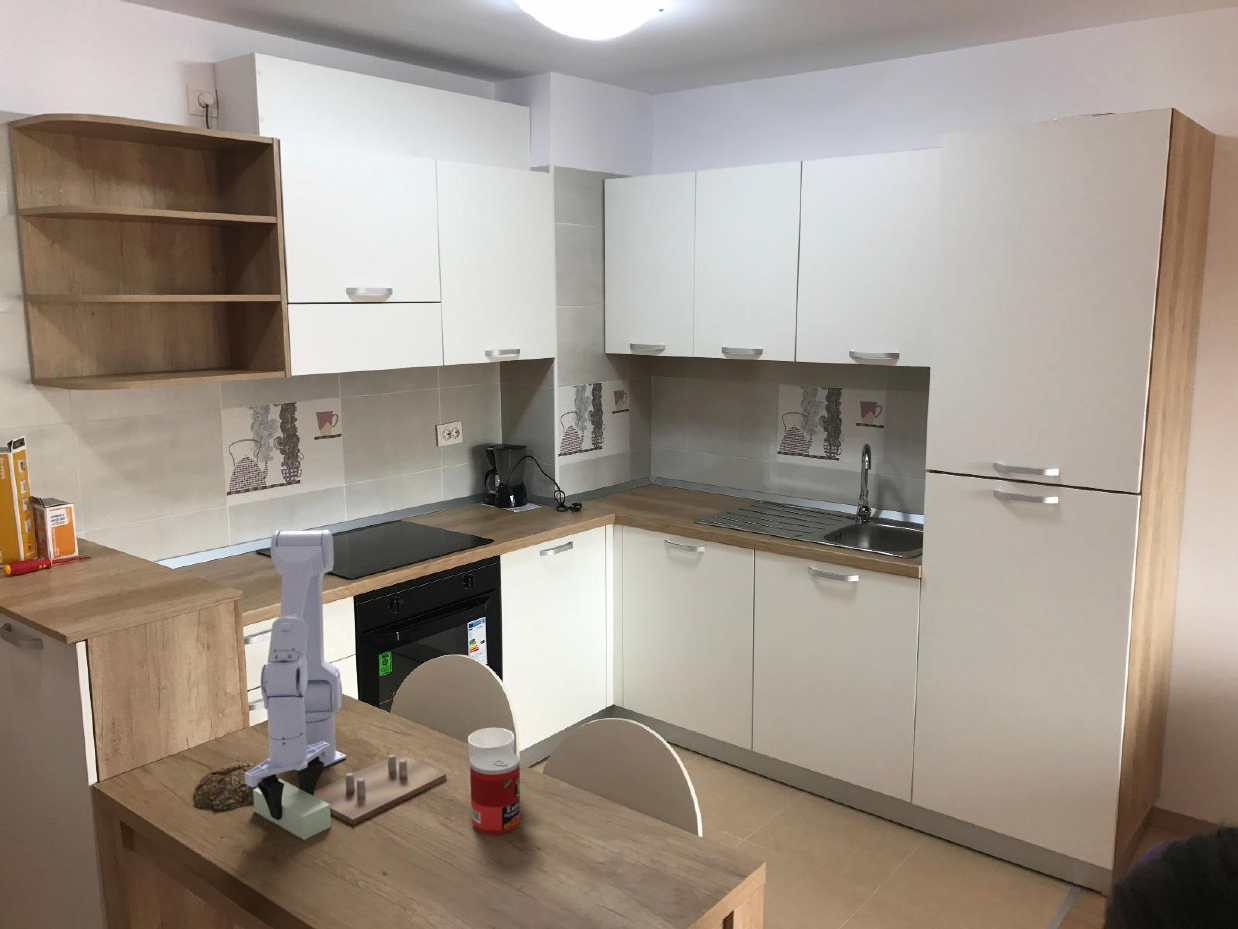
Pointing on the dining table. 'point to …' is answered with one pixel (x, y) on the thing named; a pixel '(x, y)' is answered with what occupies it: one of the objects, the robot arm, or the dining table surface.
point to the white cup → (490, 740)
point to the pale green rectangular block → (297, 811)
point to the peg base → (377, 787)
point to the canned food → (495, 791)
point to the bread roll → (225, 787)
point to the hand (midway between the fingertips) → (291, 810)
